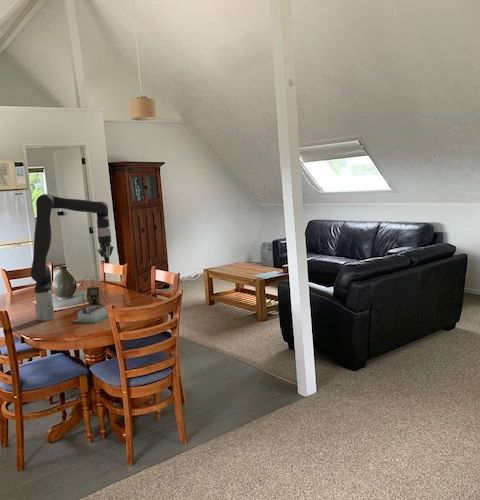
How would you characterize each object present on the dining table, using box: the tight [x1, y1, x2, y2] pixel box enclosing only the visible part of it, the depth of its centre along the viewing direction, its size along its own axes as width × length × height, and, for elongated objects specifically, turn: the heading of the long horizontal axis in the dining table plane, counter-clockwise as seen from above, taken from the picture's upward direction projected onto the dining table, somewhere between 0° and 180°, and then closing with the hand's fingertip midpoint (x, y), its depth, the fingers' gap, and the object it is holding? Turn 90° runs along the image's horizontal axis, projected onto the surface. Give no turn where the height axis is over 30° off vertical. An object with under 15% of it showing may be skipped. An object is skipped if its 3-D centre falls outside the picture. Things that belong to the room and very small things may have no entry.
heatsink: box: [72, 303, 109, 324], centre depth 296 cm, size 16×19×7 cm
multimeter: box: [81, 275, 108, 307], centre depth 319 cm, size 15×10×20 cm
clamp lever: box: [85, 305, 101, 313], centre depth 295 cm, size 12×3×2 cm, turn 159°
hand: (107, 263), depth 301 cm, fingers closed
